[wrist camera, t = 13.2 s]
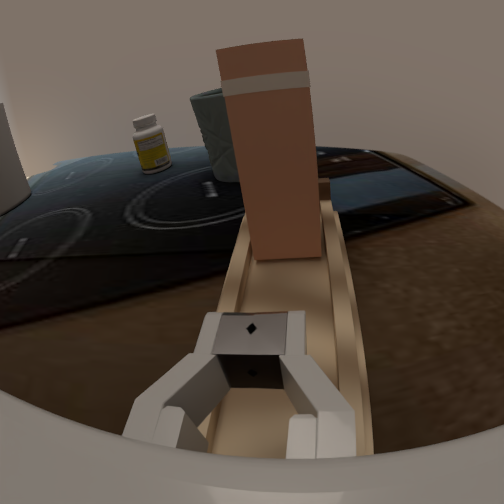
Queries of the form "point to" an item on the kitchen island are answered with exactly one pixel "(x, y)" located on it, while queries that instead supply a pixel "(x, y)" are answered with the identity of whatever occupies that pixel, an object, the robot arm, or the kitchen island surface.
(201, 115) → the green cup
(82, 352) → the kitchen island surface
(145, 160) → the supplement bottle
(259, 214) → the block
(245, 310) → the chute
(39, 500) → the robot arm
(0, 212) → the cylinder vase
